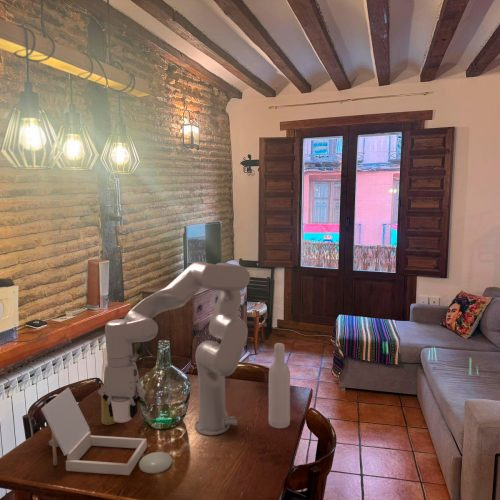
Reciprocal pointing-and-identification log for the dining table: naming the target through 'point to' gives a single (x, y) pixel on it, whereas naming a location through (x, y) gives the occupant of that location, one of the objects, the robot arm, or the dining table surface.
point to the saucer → (155, 462)
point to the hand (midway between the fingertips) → (123, 414)
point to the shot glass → (121, 409)
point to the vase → (106, 413)
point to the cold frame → (84, 438)
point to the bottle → (279, 390)
